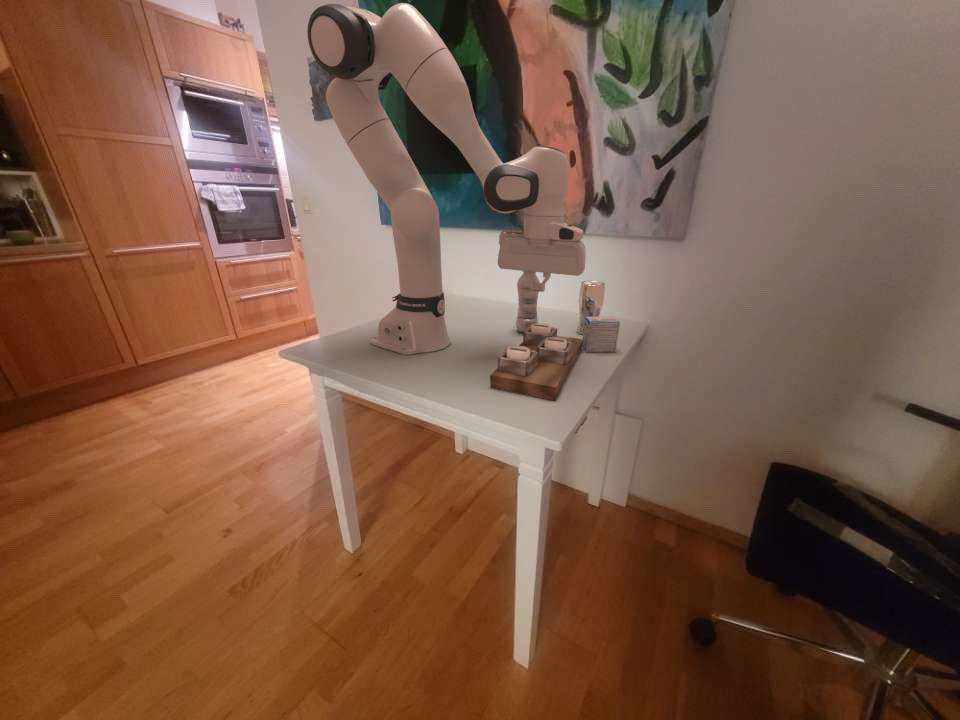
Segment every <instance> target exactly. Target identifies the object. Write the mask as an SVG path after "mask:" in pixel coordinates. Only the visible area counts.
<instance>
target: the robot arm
mask: <svg viewBox="0 0 960 720" xmlns="http://www.w3.org/2000/svg"><path fill="white" fill-rule="evenodd" d="M307 22H308V24H307V41H308V46H309V49H310V53H311V55H312V56H313V58H314V61H315V62H316V63H317V65H318V66H319V67H320V68H321V69H322V70H323V71H324V72H325V73H327V74H329V75H331V76H333V77H334V78H333V79H332V80H331V82H330V83H329V84H328V86H327V88H326V92H325V100H326V105H327V107H328V110H329V111H330V113H331V116H332V118H333V121H334V123H335V125H336V127H337V129H338V131H339V133H340V135H341V137H342V138H343V140H344V142H345V144H346V145H347V148H348V149H349V150H350V152H351V154H352V155H353V157H354V159H355V161H356V162H357V163H358V165H359V167H360V168H361V170H362V171H363V173H364V175H365V176H366V178H367V179H368V181H369V183H370V184H371V185H372V187H373V188H374V190H375V191H376V192H377V194H378V195H379V196H380V198H381V199H382V201H383V202H384V204H385V205H386V207H387V209H388V210H389V212H390V222H391V230H392V236H393V244H394V249H395V256H396V261H397V270H398V271H397V272H398V281H399V291H400V292H399V294H397V295H394V296H393V297H391V299H393V300H391V301H392V302H396V304H395V307H394V308H392V310H390V311H389V312H388V313H387V314H386V315H384V316H383V317H382V318H381V319H380V320H379V323H378V327H377V331H378V332H377V334H375V335H374V336H373V337H372V338H371V339H370V344H371V345H373V346H376V347H380V348H382V349H385V350H389V351H392V352H394V353H399V354H402V355H406V356H410V355H413V354H414V355H415V354H420V353H431V352H436V351H440V350H442V349H445V348H447V347H448V346H449V345H450V344H451V343H452V342H451V339H450V336H449V333H448V329H447V324H446V318H445V313H446V311H445V309H446V304H445V301H446V300H445V293H444V292H443V278H442V277H443V276H442V275H443V274H442V254H441V253H442V249H441V247H442V246H441V227H440V225H441V224H440V211H439V210H440V209H439V207H438V205H437V203H436V201H435V199H434V197H433V196H432V193H431V192H430V190H429V189H428V186H427V185H426V183H425V181H424V179H423V178H422V176H421V174H420V172H419V170H418V168H417V166H416V165H415V163H414V161H413V160H412V157H411V155H410V154H409V152H408V150H407V148H406V146H405V145H404V143H403V141H402V139H401V137H400V136H399V134H398V132H397V130H396V129H395V127H394V125H393V123H392V121H391V119H390V118H389V116H388V114H387V112H386V110H385V109H384V107H383V105H382V103H381V101H380V98H379V91H382V90H385V89H386V88H387V87H388V85H389V83H390V82H391V79H392V77H394V78H395V80H396V81H398V83H399V85H400V86H401V88H402V89H403V91H404V92H405V93H406V95H407V96H408V97H409V100H410V101H411V102H412V103H413V104H414V105H415V106H416V108H417V109H418V111H420V112H421V114H422V115H423V116H424V117H425V118H426V119H427V120H428V121H429V122H430V123H432V125H434V126H435V127H436V128H437V129H438V130H439V131H441V132H442V134H443V135H445V136H446V137H447V138H448V139H449V140H450V141H451V142H452V143H453V144H454V145H455V146H456V147H457V149H458V150H459V151H460V153H461V155H462V156H463V157H464V158H465V160H466V162H467V163H468V164H469V166H470V167H471V169H472V170H473V171H474V173H475V175H476V176H477V178H478V180H479V182H480V183H481V187H482V192H483V197H484V200H485V202H486V205H487V206H488V207H489V209H490V210H491V211H493V212H494V213H496V214H500V215H508V214H512V213H514V212H516V211H518V210H523V211H524V218H523V228H511V227H509V228H508V227H507V228H505V229H503V230H502V231H501V232H500V234H499V238H498V239H499V240H498V244H499V250H498V254H497V266H498V267H499V269H501V270H509V271H510V270H512V271H521V272H522V271H528V278H529V280H530V282H531V283H532V285H531V291H539V292H540V293H543V292H545V289H546V284H547V282H548V281H549V280H550V278H551V277H552V276H551V275H553V274H556V275H565V276H574V277H575V276H576V277H578V276H581V275H582V274H583V273H584V272H585V268H586V259H587V258H586V257H587V256H586V246H585V243H584V242H583V241H582V239H583V238H584V229H582V228H580V227H576V226H574V225H572V224H569V223H566V222H565V216H566V215H565V207H564V206H565V201H566V198H567V196H568V189H569V188H568V187H569V171H570V170H569V160H568V156H567V155H566V153H565V152H564V151H562V150H561V149H558V148H555V147H551V146H546V145H536V146H534V147H533V148H532V149H530V150H529V151H528V152H527V153H525V154H523V155H521V156H519V157H517V158H515V159H513V160H510V161H507V162H505V163H504V162H503V161H502V160H501V158H500V157H499V155H498V154H497V152H496V151H495V149H494V148H493V146H492V144H491V143H490V141H489V140H488V139H487V137H486V135H485V134H484V132H483V130H482V129H481V126H480V124H479V122H478V119H477V118H476V113H475V111H474V108H473V102H472V99H471V95H470V90H469V87H468V85H467V82H466V80H465V78H464V75H463V73H462V71H461V69H460V67H459V65H458V63H457V61H456V60H455V58H454V56H453V54H452V52H451V51H450V50H449V48H448V47H447V45H446V44H445V42H444V40H443V39H442V37H440V35H439V34H438V32H437V31H436V30H435V29H434V27H433V26H432V25H431V24H430V22H429V21H427V19H426V18H425V17H424V15H422V13H420V12H419V10H418V9H417V8H415V6H413V5H412V4H409V3H406V2H400V3H396V4H394V5H392V6H391V7H390V8H388V9H387V10H386V12H385V13H384V14H383V15H381V14H379V13H376V12H372V11H370V10H367V9H365V8H362V7H359V6H350V5H349V6H347V5H346V6H345V5H343V4H339V3H328V4H323V5H320V6H319V7H317V8H316V9H314V10H313V12H311V15H310V17H309V19H308V21H307ZM536 273H542V278H544V279H543V280H542V282H540V283H536V281H535V278H534V275H536ZM536 276H537V275H536Z"/></svg>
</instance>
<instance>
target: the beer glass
mask: <svg viewBox="0 0 960 720" xmlns="http://www.w3.org/2000/svg"><path fill="white" fill-rule="evenodd" d="M605 286H606V283H605V282H602V281H600V280H599V281H598V280H597V281H596V280H585V281H581V283H580V289H579V294H578V295H579V296H578V312H579V320H578V321H579V322H578V326H577V328H576V329H577V330H576V332H577V333H578V334H579V335H581V336H583V332H584V323H585V317H600V316H601V311H602V308H603V305H604V300H605V293H606V291H605V289H606V288H605Z"/></svg>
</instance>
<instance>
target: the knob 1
mask: <svg viewBox="0 0 960 720" xmlns="http://www.w3.org/2000/svg"><path fill="white" fill-rule="evenodd" d="M506 348H507V347H506ZM507 358H509V359H515V360H521V361H527V360H528V359H529V358H530V349H529V348H527V347H524V346H519V345H512V346H509V348H507Z"/></svg>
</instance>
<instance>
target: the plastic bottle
mask: <svg viewBox="0 0 960 720" xmlns="http://www.w3.org/2000/svg"><path fill="white" fill-rule="evenodd" d="M521 272H523V273H522V274H521V276H520V277H519V278H518V280H517V282H516V284H517V285H516V286H517V297H518V299H517V300H518V308H517V316H516V320H515V328H516V330H517V331H518V332H519V333H522V334H523V333H524V331H525V330H526V329H527V328H528V327H529V326H530V325H532V324H536V323H539V319H538V308H537V307H538V299H539V291H531V285H532V283H531V282H530V280H529V278H528V271H521ZM534 278H535V281H536V283H541V282H540V279H539V277H538V276H537V275H534Z"/></svg>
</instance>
